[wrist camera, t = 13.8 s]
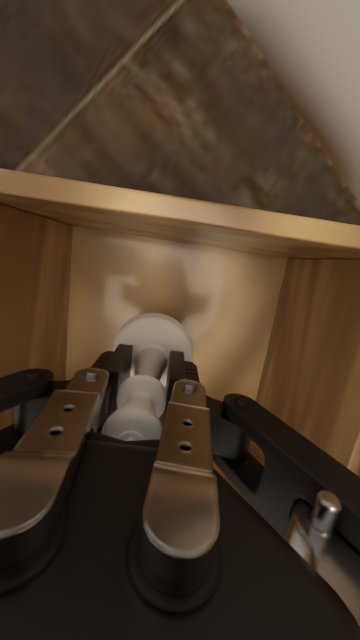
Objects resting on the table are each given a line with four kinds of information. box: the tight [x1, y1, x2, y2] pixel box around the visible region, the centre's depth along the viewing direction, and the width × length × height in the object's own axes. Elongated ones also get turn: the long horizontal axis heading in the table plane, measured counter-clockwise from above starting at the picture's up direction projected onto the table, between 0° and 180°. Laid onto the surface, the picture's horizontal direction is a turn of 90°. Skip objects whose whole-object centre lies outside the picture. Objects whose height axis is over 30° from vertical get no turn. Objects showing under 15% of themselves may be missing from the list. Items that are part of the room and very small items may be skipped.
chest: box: [0, 168, 360, 495], centre depth 17 cm, size 19×16×12 cm
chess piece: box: [101, 313, 194, 441], centre depth 11 cm, size 5×5×10 cm
